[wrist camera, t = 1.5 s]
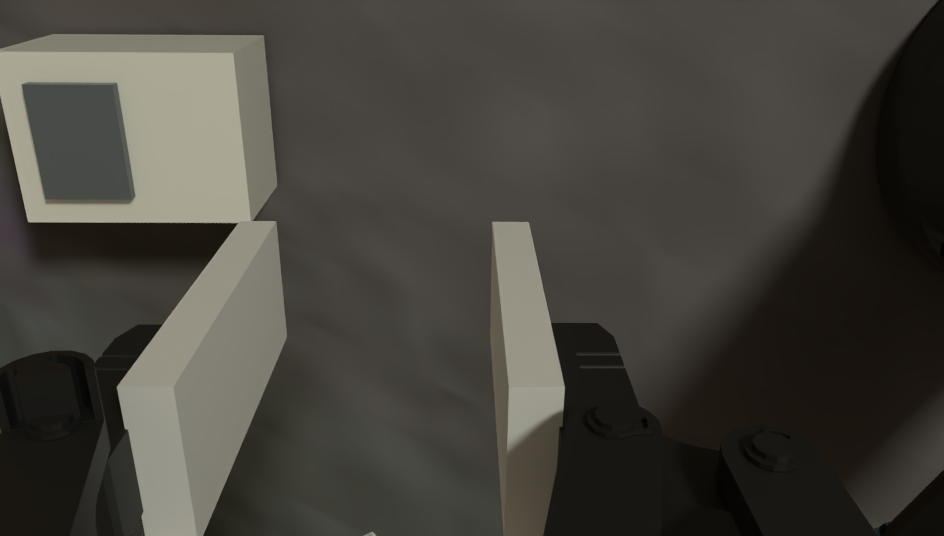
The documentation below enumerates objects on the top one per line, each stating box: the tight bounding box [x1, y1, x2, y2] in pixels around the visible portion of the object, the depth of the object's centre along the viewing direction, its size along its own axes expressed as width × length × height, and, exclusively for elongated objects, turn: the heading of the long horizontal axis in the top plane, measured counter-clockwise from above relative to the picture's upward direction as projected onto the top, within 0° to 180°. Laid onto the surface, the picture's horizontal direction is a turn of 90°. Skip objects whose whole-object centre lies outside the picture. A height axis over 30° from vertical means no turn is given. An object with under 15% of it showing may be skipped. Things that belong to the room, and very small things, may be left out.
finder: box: [0, 34, 277, 223], centre depth 30 cm, size 8×6×5 cm
